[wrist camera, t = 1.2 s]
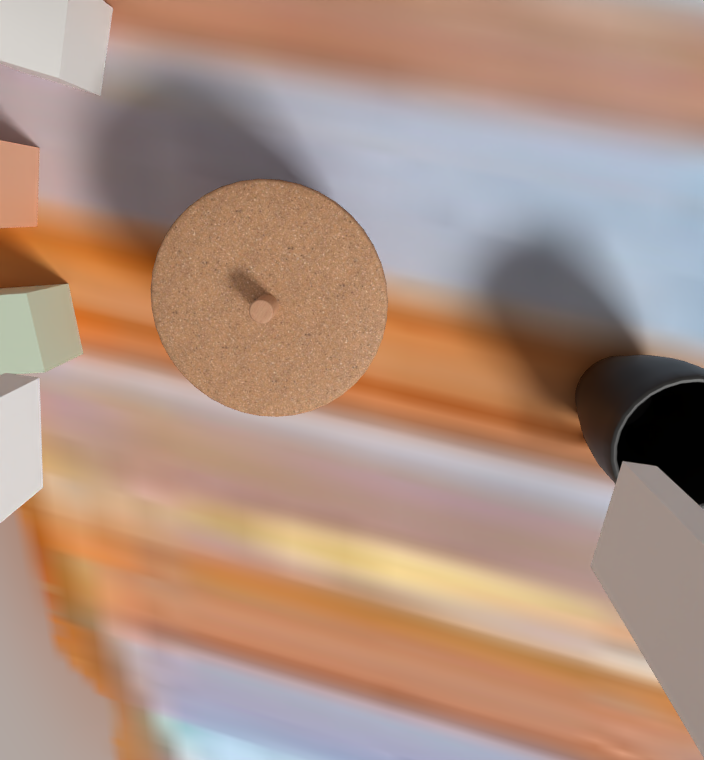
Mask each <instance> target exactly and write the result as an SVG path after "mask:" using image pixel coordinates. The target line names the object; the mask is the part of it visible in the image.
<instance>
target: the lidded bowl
mask: <svg viewBox="0 0 704 760" xmlns="http://www.w3.org/2000/svg"><path fill="white" fill-rule="evenodd" d="M151 302H152V311H153V316H154V321H155V325H156V328H157V331H158V334H159V336H160V339H161V342H162V344H163V346H164V348H165V349H166V351H167V353H168V355H169V357H170V359H171V360H172V361H173V363H174V364H175V365H176V367H177V368H178V369H179V371H180V372H181V373H182V374H183V375H184V376H185V377H186V378H187V379H188V380H189V381H190V382H191V383H192V384H193V385H194V386H195V387H196V388H197V389H199V390H200V391H201V392H203V393H204V394H206V395H207V396H208V397H210V398H211V399H213V400H215V401H217V402H219V403H221V404H223V405H225V406H227V407H230V408H232V409H235V410H238V411H241V412H244V413H249V414H254V415H259V416H275V417H278V416H289V415H296V414H300V413H304V412H309V411H312V410H314V409H317V408H319V407H322V406H324V405H326V404H328V403H330V402H331V401H333V400H335V399H336V398H338V397H340V396H341V395H343V394H344V393H345V392H346V391H347V390H348V389H350V388H351V387H352V386H353V385H354V384H355V383H356V382H357V381H358V380H359V379H360V377H361V376H362V375H363V374H364V373H365V372H366V370H367V369H368V367H369V365H370V364H371V362H372V360H373V359H374V357H375V355H376V353H377V351H378V348H379V346H380V343H381V341H382V338H383V334H384V330H385V325H386V321H387V307H388V297H387V287H386V280H385V276H384V272H383V268H382V264H381V261H380V259H379V257H378V255H377V252H376V250H375V248H374V245H373V244H372V242H371V241H370V239H369V237H368V236H367V234H366V233H365V231H364V229H363V228H362V227H361V226H360V225H359V224H358V222H357V221H356V220H355V219H354V218H353V217H352V216H351V214H349V213H348V212H347V211H346V210H345V209H343V208H342V207H341V206H340V205H339V204H337V203H336V202H335V201H333V200H332V199H330V198H328V197H326V196H325V195H323V194H321V193H320V192H318V191H316V190H313V189H310V188H308V187H305V186H303V185H300V184H296V183H292V182H287V181H283V180H274V179H254V180H246V181H239V182H236V183H232V184H229V185H226V186H222V187H220V188H218V189H216V190H214V191H212V192H210V193H208V194H206V195H204V196H203V197H201V198H200V199H198V200H197V201H196V202H194V203H193V204H192V205H190V206H189V207H188V208H187V209H186V210H185V211H184V212H183V213H182V214H181V215H180V216H179V217H178V218H177V219H176V221H175V222H174V224H173V225H172V227H171V228H170V230H169V231H168V232H167V234H166V235H165V237H164V240H163V242H162V244H161V246H160V248H159V251H158V253H157V257H156V260H155V264H154V268H153V272H152V282H151Z"/></svg>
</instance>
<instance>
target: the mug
mask: <svg viewBox="0 0 704 760" xmlns="http://www.w3.org/2000/svg"><path fill="white" fill-rule="evenodd" d="M575 403H576V407H577V411H578V417H579V421H580V425H581V429H582V432H583V436H584V438H585V441H586V443H587V445H588V447H589V449H590V450H591V452H592V454H593V456H594V457H595V459H596V461H597V463H598V464H599V465H600V467H601V468H602V469H603V470H604V471H605V472H606V474H607V475H608V476H609V477H610V478H611V479H612V480H613V481H614V483H615V484H616V481H617V478H618V475H619V471H620V468H621V465H622V462H623V461H625V462H632V463H639V464H646V465H652V466H657V467H658V468H659V469H660V470H661V471H663V472H664V473H665V474H666V475H667V476H668V477H669V478H670V479H671V480H672V481H673V482H674V483H675V484H677V485H678V486H679V487H680V488H681V489H682V490H683V491H684V492H685V493H686V494H687V495H688V496H689V497H691V498H692V499H693V500H694V501H695V502H696V503H697V504H698V505H699V506H700V507H701V508H702V509H704V369H703V368H701V367H699V366H696V365H693V364H690V363H688V362H685V361H681V360H677V359H673V358H666V357H659V356H650V355H633V356H612V357H609V358H605V359H602V360H601V361H599V362H597V363H595V364H594V365H592V366H591V367H590V368H589V369H588V370H587V371H586V372H585V373H584V375H583V376H582V377H581V379H580V381H579V383H578V385H577V389H576V393H575Z"/></svg>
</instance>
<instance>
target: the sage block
mask: <svg viewBox="0 0 704 760" xmlns="http://www.w3.org/2000/svg"><path fill="white" fill-rule="evenodd" d="M82 354H83V350H82V346H81V341H80V336H79V331H78V327H77V322H76V317H75V313H74V308H73V303H72V298H71V294H70V289H69V284H55V285H41V286H27V287H12V288H0V375H2V374H4V373H11V374H26V373H43V372H47V371H49V370H51V369H53V368H55V367H57V366H59V365H61V364H63V363H65V362H67V361H69V360H71V359H74V358H76V357H78V356H80V355H82Z"/></svg>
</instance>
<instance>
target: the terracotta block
mask: <svg viewBox="0 0 704 760" xmlns="http://www.w3.org/2000/svg"><path fill="white" fill-rule="evenodd" d="M38 181H39V148H38V147H33V146H28V145H23V144H18V143H13V142H8V141H3V140H0V228H11V227H36V226H37V216H38Z"/></svg>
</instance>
